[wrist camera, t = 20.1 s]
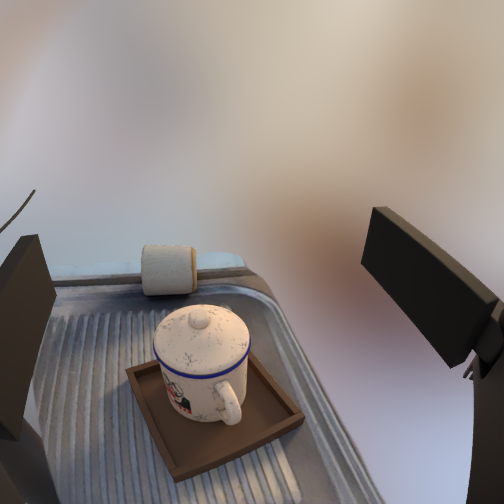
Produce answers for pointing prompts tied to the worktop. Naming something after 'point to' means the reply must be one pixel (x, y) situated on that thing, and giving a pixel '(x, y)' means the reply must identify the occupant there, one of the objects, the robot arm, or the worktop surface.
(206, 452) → the rectangular tray
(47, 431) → the worktop surface
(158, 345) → the teacup with lid
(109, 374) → the worktop surface
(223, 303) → the worktop surface
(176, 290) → the ceramic mug
